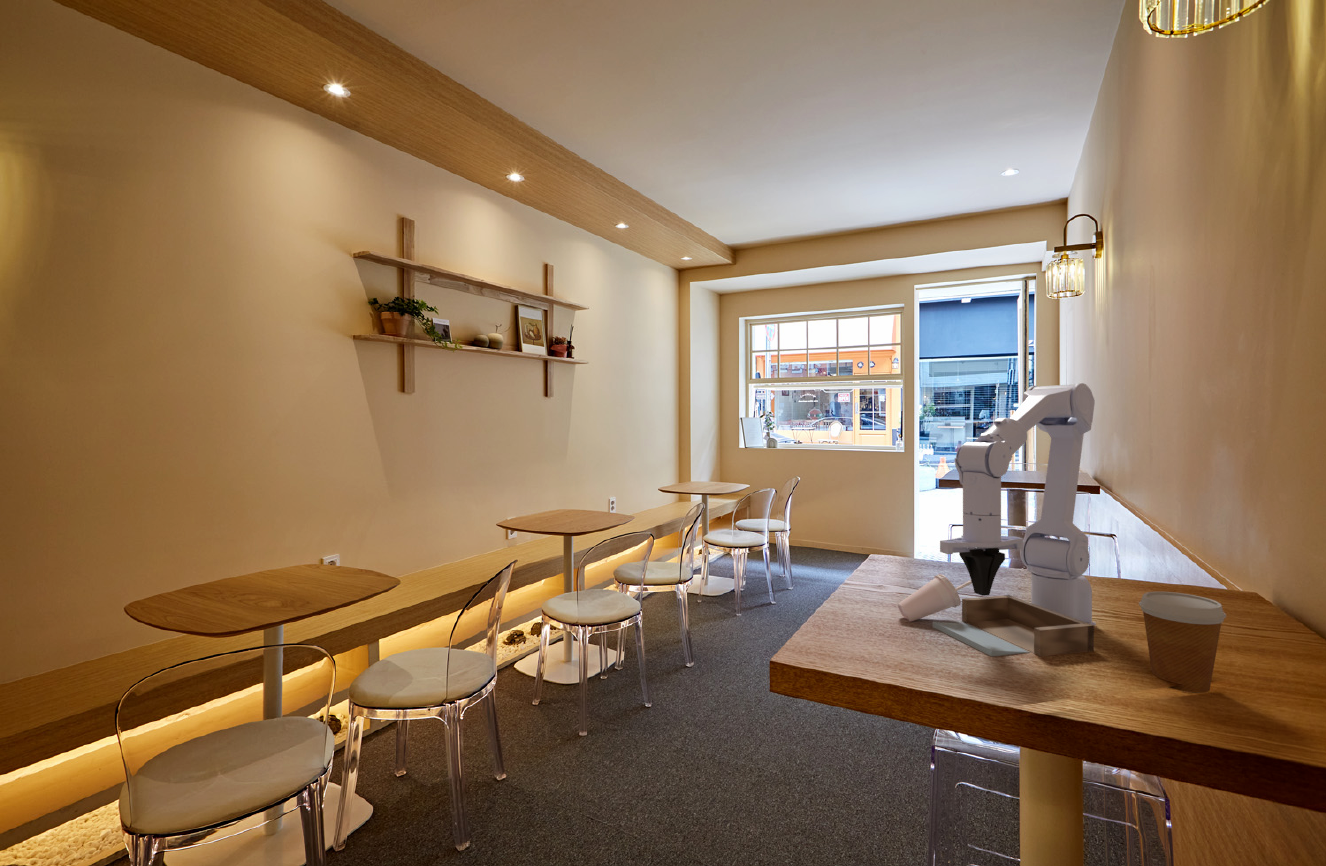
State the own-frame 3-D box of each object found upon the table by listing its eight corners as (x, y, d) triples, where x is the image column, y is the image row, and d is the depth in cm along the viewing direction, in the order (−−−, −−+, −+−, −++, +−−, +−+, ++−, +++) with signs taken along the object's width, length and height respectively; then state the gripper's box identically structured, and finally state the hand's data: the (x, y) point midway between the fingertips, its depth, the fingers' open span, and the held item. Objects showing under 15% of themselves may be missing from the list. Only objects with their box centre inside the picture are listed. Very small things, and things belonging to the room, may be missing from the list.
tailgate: (966, 623, 112) (932, 621, 111) (1029, 652, 98) (991, 650, 97) (966, 629, 112) (932, 627, 111) (1029, 658, 98) (991, 656, 97)
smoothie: (918, 631, 111) (987, 595, 112) (899, 597, 112) (967, 562, 113) (906, 627, 117) (972, 593, 118) (889, 595, 119) (953, 562, 119)
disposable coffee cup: (1121, 671, 93) (1122, 591, 93) (1181, 669, 94) (1181, 589, 93) (1180, 700, 83) (1180, 610, 83) (1245, 696, 84) (1246, 608, 84)
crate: (1008, 621, 116) (1009, 595, 116) (1093, 656, 99) (1093, 625, 99) (962, 625, 114) (962, 598, 114) (1040, 662, 97) (1040, 630, 97)
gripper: (1001, 508, 110) (1001, 584, 110) (928, 511, 107) (928, 590, 107) (1032, 514, 103) (1032, 595, 103) (956, 517, 100) (956, 601, 100)
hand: (981, 593), depth 105 cm, fingers closed
